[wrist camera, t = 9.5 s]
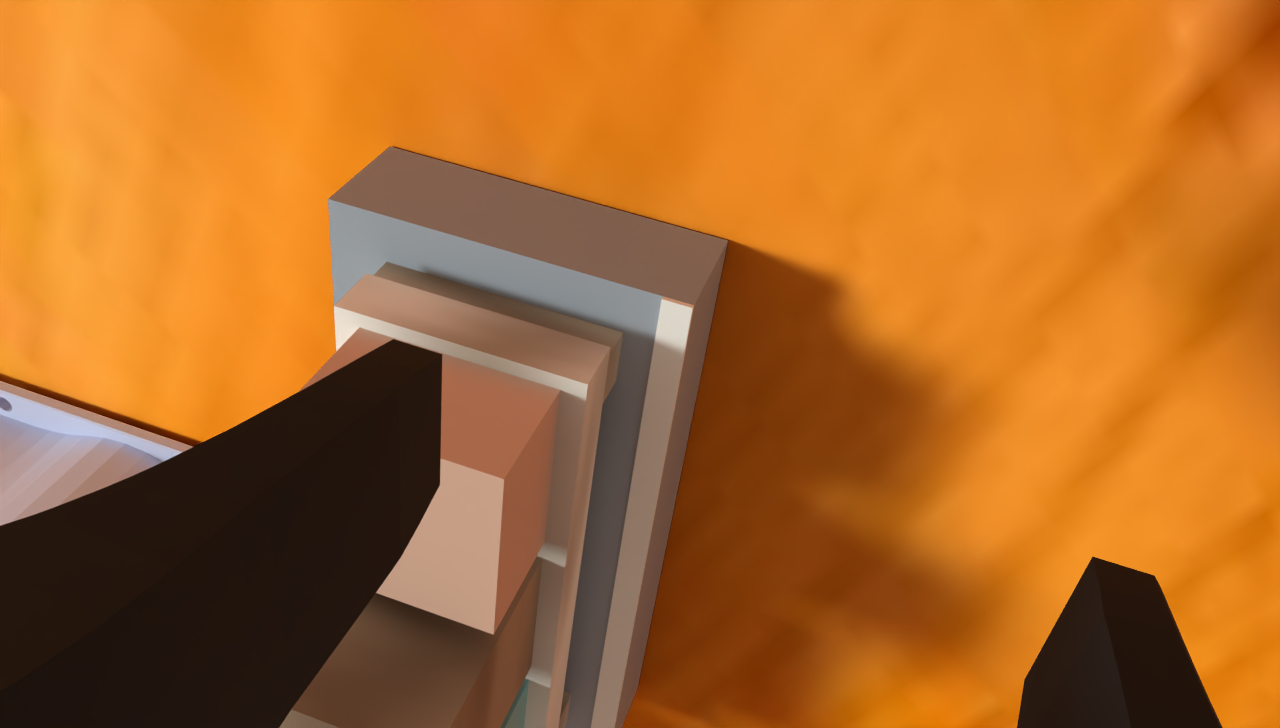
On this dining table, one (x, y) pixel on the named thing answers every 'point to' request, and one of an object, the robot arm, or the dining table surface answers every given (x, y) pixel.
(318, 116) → the dining table surface
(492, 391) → the block
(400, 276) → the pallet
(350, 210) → the dock
